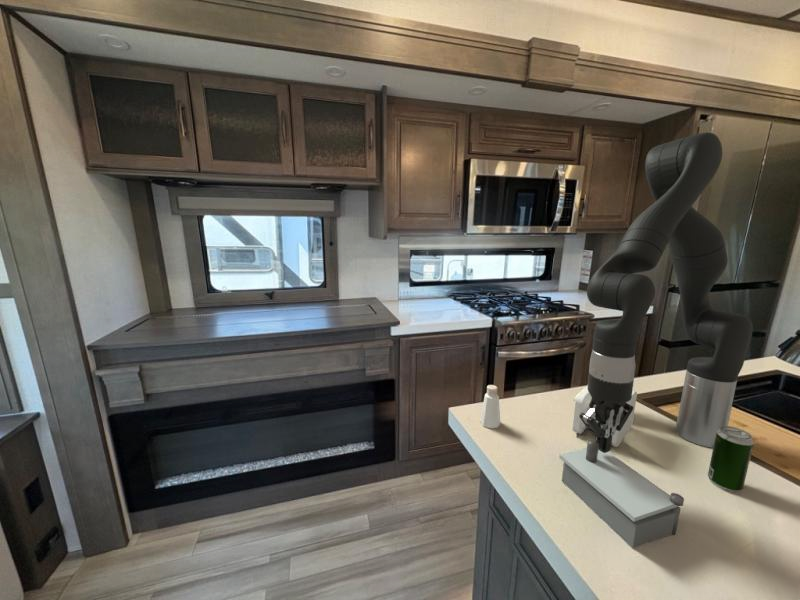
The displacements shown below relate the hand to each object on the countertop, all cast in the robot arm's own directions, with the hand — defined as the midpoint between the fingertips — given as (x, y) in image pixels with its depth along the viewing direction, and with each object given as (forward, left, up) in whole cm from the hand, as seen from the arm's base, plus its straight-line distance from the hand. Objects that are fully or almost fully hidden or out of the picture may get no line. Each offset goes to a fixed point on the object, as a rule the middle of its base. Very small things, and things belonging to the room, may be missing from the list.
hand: (602, 449), depth 69 cm
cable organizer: (-15, -14, -8) cm, 22 cm away
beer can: (-24, +8, -8) cm, 27 cm away
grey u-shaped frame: (+3, +5, -7) cm, 9 cm away
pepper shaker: (+11, -26, -8) cm, 29 cm away
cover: (+3, +6, -2) cm, 7 cm away
